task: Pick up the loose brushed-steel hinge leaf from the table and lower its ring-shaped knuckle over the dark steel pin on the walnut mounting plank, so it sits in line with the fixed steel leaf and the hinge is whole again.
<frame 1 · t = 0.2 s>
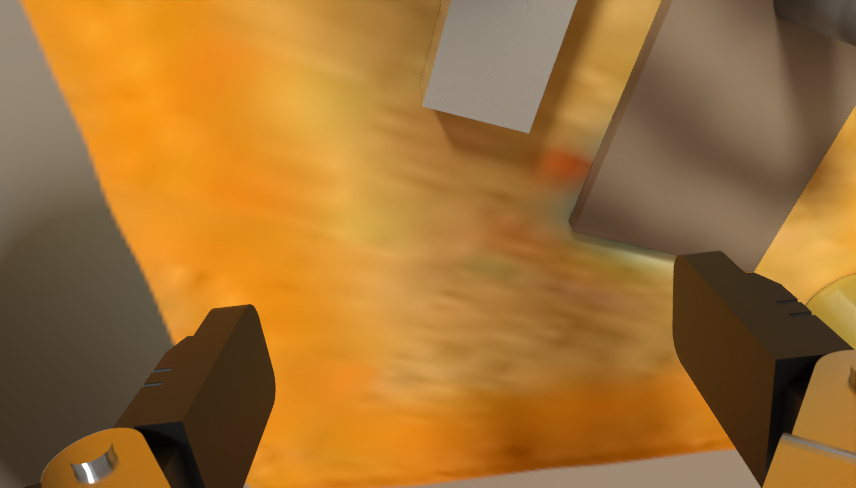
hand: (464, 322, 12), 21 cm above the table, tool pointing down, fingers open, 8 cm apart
plant pot: (847, 314, 40), on the table
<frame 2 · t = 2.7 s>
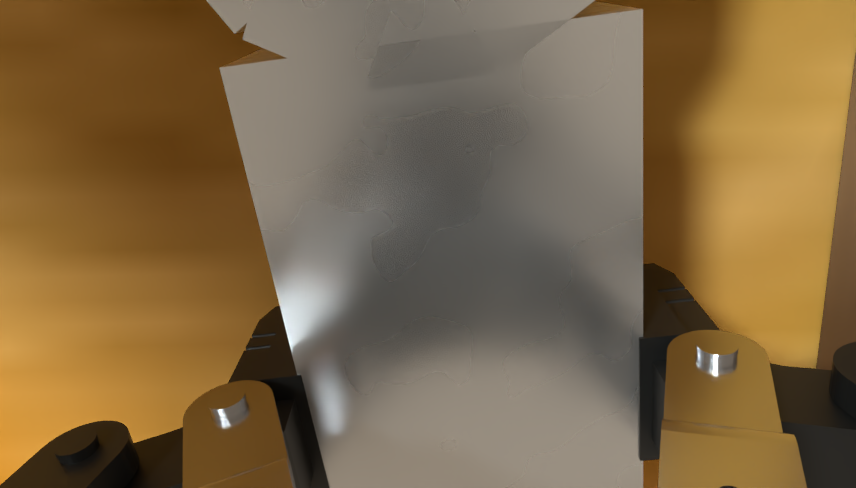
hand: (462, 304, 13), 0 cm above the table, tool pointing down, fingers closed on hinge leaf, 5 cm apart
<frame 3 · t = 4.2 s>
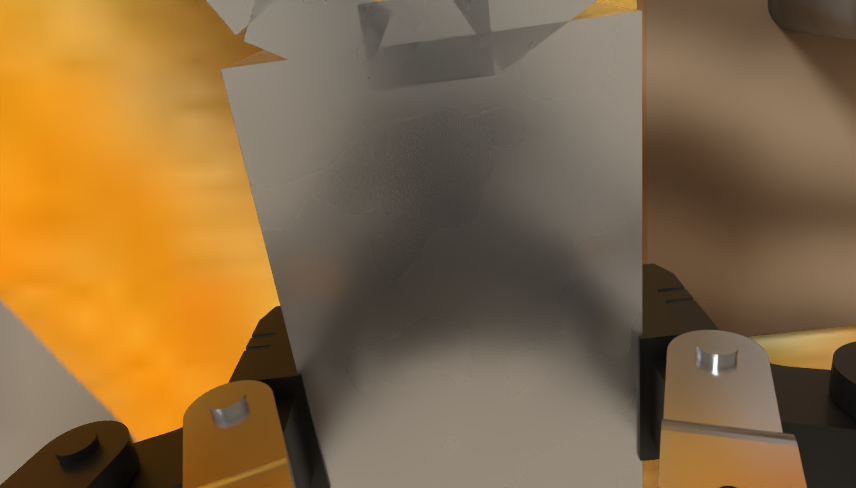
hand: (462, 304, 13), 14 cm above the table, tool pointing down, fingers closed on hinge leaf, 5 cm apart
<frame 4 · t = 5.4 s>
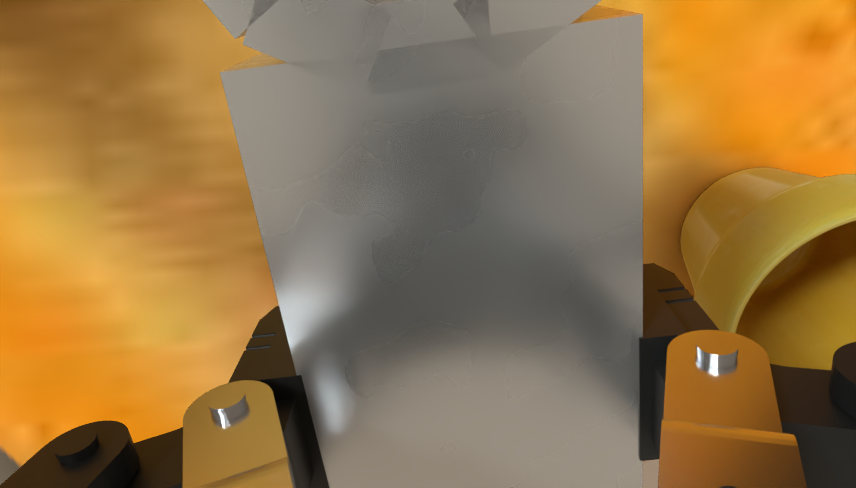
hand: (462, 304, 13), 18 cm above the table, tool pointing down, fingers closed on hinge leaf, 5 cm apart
plant pot: (743, 231, 32), on the table
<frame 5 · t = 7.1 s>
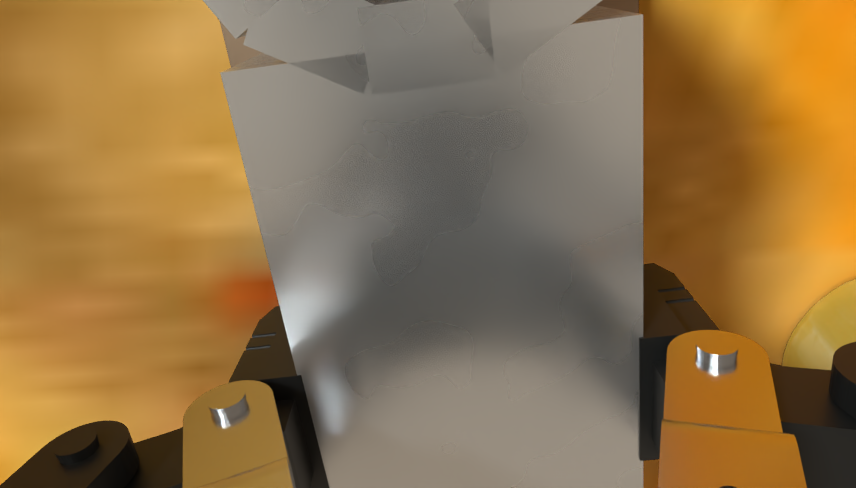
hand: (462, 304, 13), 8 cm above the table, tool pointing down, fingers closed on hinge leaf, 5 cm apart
when the fingers open (3 cm above the table, at t = 8.5 s): hinge leaf drops 1 cm, resting on hinge base.
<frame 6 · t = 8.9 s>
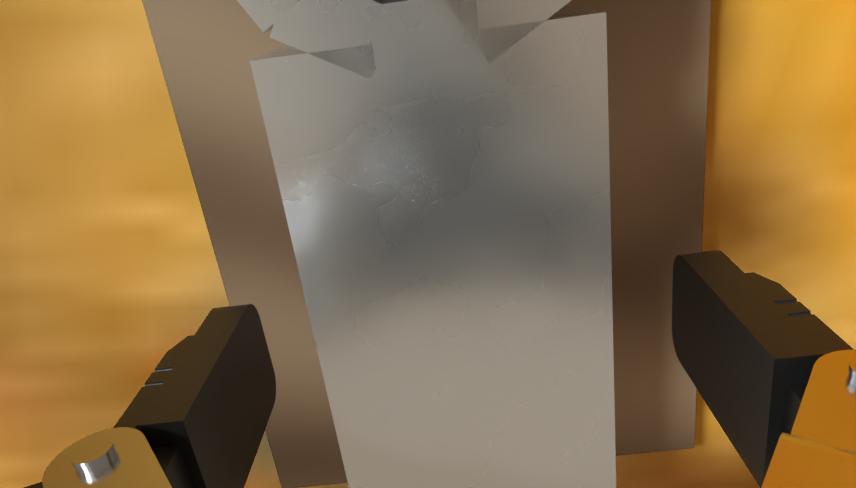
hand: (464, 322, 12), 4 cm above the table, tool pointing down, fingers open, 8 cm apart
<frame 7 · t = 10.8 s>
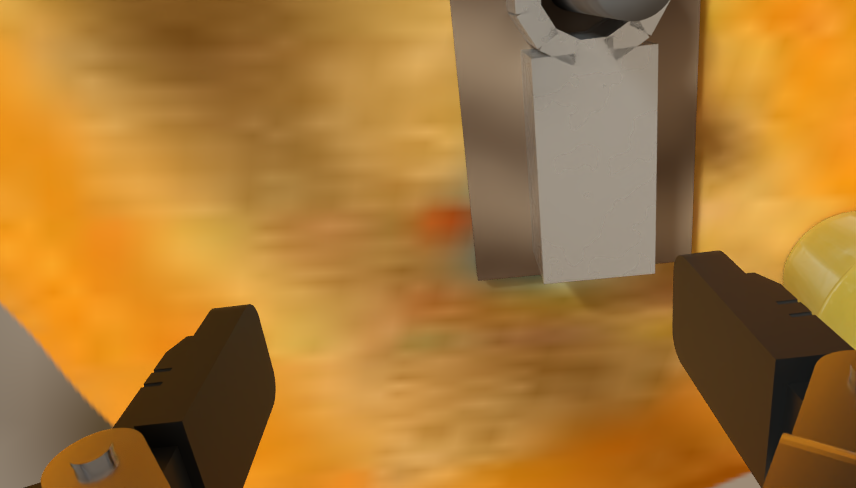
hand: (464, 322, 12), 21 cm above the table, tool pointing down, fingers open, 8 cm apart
plant pot: (841, 268, 34), on the table
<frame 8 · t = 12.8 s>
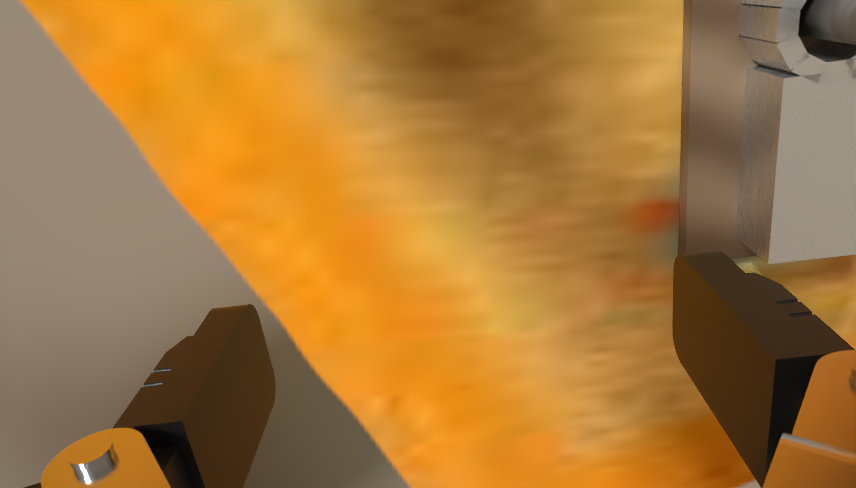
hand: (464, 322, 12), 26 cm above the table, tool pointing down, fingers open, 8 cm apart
hinge leaf: (797, 12, 33), point 1 cm above the table, touching hinge base
hinge base: (786, 9, 34), on the table
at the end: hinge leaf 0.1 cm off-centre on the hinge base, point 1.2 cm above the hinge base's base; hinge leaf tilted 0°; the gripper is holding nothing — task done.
